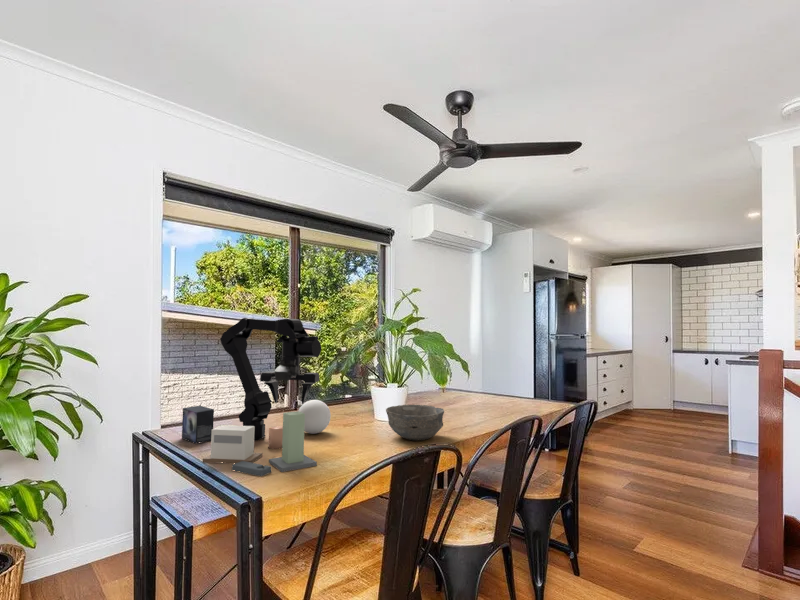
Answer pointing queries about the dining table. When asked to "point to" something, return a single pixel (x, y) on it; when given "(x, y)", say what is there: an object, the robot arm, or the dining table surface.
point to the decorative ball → (315, 416)
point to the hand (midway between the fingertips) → (289, 403)
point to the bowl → (415, 421)
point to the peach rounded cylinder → (275, 437)
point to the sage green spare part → (293, 437)
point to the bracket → (251, 468)
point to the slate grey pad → (292, 464)
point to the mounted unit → (232, 444)
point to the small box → (197, 423)
